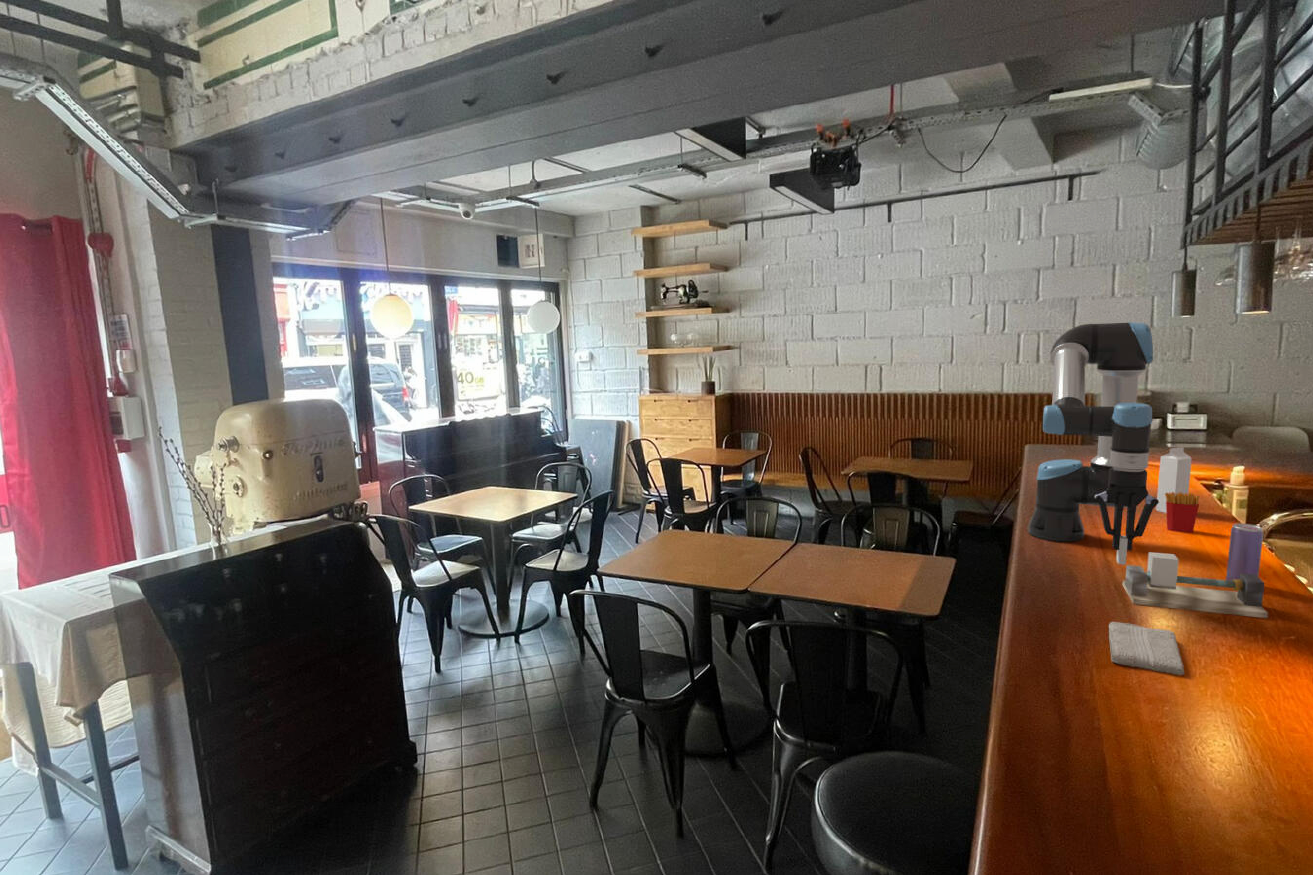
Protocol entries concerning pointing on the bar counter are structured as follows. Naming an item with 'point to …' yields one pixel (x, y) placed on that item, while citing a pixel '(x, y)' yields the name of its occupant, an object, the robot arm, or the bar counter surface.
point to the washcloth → (1145, 648)
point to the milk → (1173, 475)
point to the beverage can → (1244, 551)
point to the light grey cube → (1162, 570)
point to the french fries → (1181, 511)
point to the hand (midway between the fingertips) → (1120, 562)
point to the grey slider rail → (1199, 594)
